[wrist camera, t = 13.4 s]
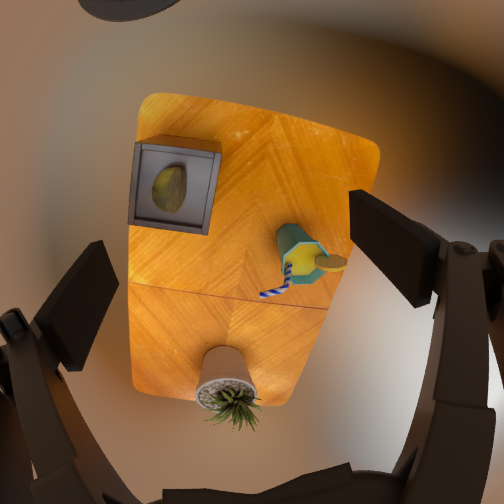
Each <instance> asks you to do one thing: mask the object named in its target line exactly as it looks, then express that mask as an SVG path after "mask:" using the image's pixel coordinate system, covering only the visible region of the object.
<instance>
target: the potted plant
mask: <svg viewBox="0 0 504 504" xmlns="http://www.w3.org/2000/svg"><path fill="white" fill-rule="evenodd" d="M195 398H196V401H197V402H198V404H199V405H200V406H201V407H203V408H204V409H207V410H209V411H212V412H216V413H218V414H217V415H216V416H214V417H213V418H211V419H209V420H212V419H215V418H216V417H218V416H220V415H221V414H222V413H224V414H223V416H220V417H218V418H219V419H221V418H223V417H224V416H225V417H224V419H222V420H221V421H220V422H218V423H216V424H219V423H221V422H223V421H225V420H226V419H227V418H228V417H229V416H230V414H231V413H232V417H233V419H232V420H233V429H234V426H235V425H236V424H237V423H238V421H239V423H240V425H239V430H240V429H241V426H242V420H243V419H245V421H246V425H247V420H248V422H249V423H250V425H251V427H252V429H253V430H254V428H253V425H252V422H251V420H252V421H253V423H254V424H255V425H256V423H255V421H254V418H253V416H254V417H255V418H256V416H255V415H254V414H253V413H252V411H251V410H250V409H249V406H251V407H254V408H257V409H260V408H258V407H260V406H258V405H256V404H254V402H255V400H256V399H258V398H257V391H256V388H255V385H254V383H253V382H252V379H251V377H250V374H249V371H248V369H247V366H246V363H245V361H244V358H243V356H242V354H241V353H240V352H239V351H238V350H237V349H235V348H233V347H230V346H218V347H215V348H213V349H211V350H209V351H208V352H207V353H206V355H205V357H204V361H203V365H202V370H201V374H200V379H199V383H198V386H197V388H196V393H195ZM258 400H261V399H258ZM256 406H258V407H256ZM260 410H261V409H260ZM252 415H253V416H252ZM243 417H244V418H243ZM219 419H217V420H219ZM256 419H257V418H256ZM217 420H214V421H217ZM232 420H230V421H229V422H231V421H232ZM205 421H208V420H205ZM257 421H258V419H257ZM235 422H236V423H235ZM258 422H259V421H258ZM216 424H215V425H216ZM256 426H257V425H256ZM233 429H232V430H233ZM254 432H255V430H254Z"/></svg>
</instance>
